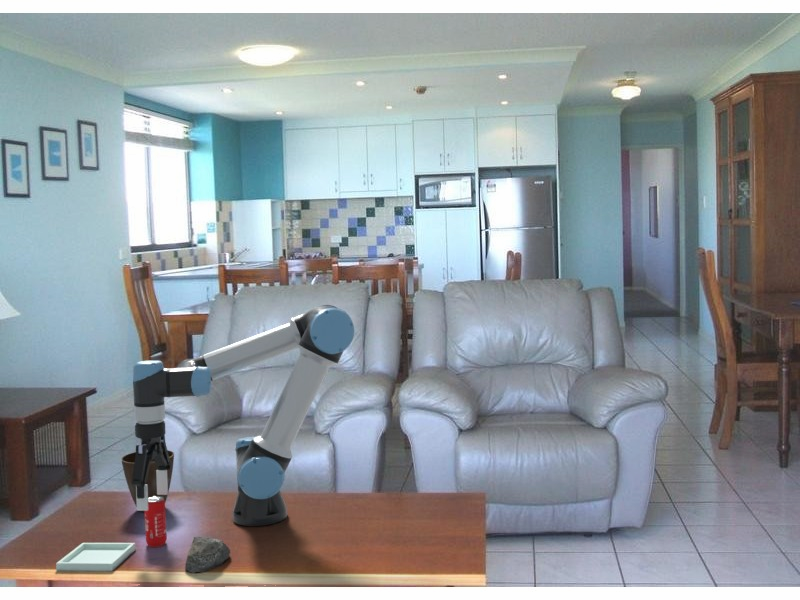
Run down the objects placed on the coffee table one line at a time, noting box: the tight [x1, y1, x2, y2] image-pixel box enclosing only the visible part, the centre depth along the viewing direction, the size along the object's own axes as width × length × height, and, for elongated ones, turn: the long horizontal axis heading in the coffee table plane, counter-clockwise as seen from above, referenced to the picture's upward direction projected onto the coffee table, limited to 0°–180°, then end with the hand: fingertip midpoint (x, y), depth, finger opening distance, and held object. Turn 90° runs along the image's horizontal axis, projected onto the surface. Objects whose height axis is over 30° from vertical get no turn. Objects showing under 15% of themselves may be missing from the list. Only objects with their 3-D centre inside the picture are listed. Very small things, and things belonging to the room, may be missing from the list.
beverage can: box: [144, 496, 167, 548], centre depth 223 cm, size 5×5×12 cm
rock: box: [184, 536, 231, 574], centre depth 209 cm, size 13×9×6 cm, turn 173°
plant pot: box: [120, 449, 175, 514], centre depth 253 cm, size 15×15×16 cm
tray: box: [55, 542, 137, 572], centre depth 214 cm, size 14×14×2 cm
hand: (152, 502), depth 223 cm, fingers open, 13 cm apart
